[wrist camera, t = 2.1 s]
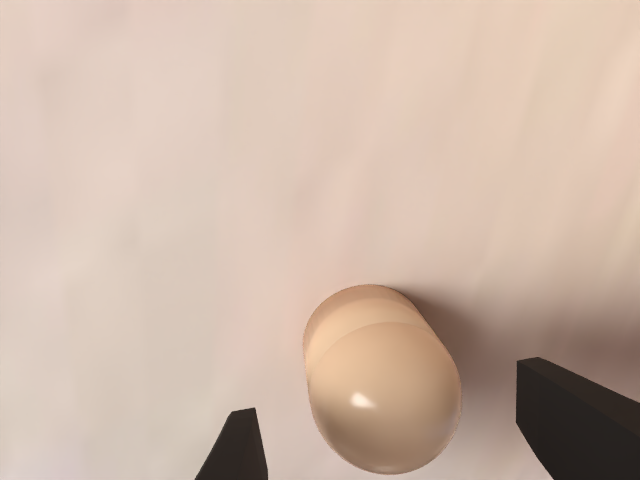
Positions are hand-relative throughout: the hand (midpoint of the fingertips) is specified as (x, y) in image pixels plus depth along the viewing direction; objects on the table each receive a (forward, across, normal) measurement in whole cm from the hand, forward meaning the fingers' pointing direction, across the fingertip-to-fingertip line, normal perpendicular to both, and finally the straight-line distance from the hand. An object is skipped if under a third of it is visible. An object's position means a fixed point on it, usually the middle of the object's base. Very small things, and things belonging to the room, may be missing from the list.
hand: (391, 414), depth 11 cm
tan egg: (+4, 0, 0) cm, 4 cm away
